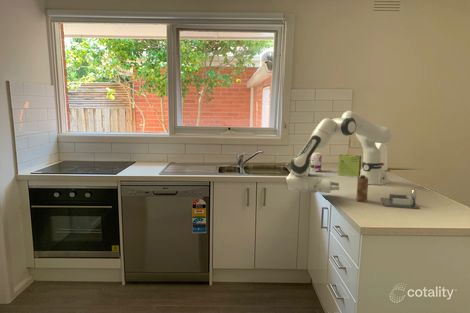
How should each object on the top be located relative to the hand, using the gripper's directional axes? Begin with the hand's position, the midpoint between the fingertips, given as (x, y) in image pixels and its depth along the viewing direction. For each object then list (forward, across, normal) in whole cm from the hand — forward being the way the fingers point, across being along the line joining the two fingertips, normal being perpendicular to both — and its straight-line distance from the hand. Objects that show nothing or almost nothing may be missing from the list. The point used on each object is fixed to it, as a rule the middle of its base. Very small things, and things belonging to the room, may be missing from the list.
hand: (339, 186), depth 178 cm
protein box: (+9, +73, +8) cm, 74 cm away
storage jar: (-25, +63, +8) cm, 68 cm away
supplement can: (-16, +81, +8) cm, 83 cm away
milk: (+32, +102, +8) cm, 107 cm away
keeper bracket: (+31, -1, +7) cm, 32 cm away
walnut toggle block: (+12, 0, +7) cm, 14 cm away
